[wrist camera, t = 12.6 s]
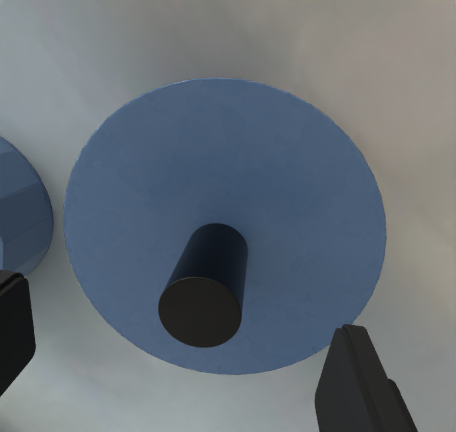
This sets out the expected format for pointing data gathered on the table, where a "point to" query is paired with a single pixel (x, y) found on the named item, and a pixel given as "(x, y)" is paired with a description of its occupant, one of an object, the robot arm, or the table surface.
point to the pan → (22, 213)
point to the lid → (224, 225)
